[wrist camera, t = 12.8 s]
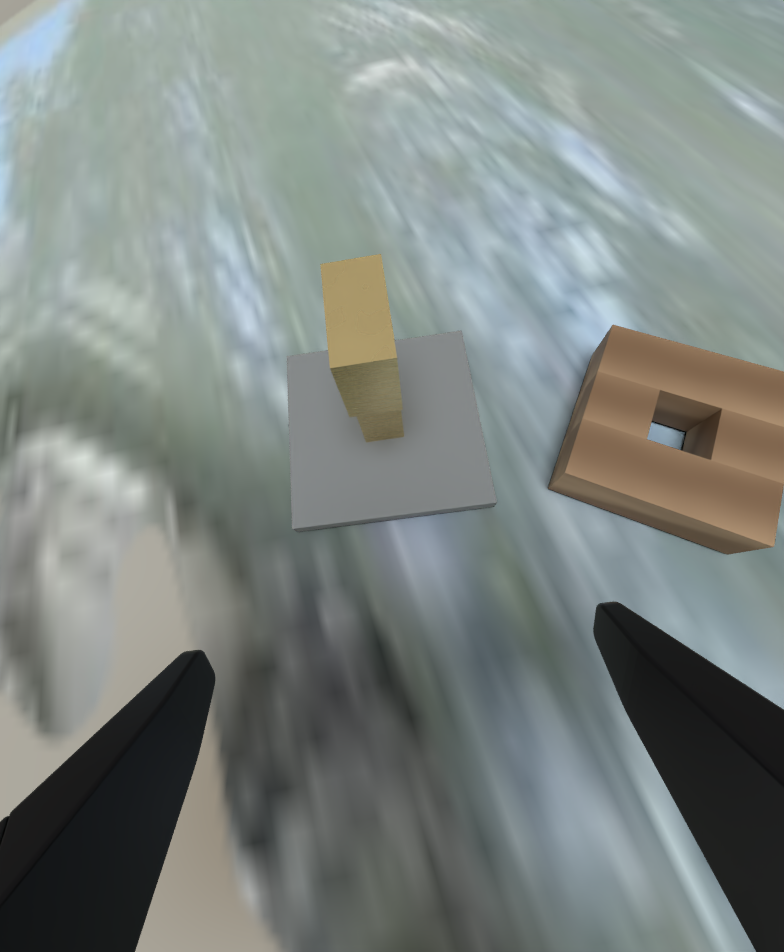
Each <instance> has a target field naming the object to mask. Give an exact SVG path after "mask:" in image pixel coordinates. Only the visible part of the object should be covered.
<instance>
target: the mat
mask: <svg viewBox="0 0 784 952" xmlns="http://www.w3.org/2000/svg"><path fill="white" fill-rule="evenodd" d="M395 347H396V354H397V361H398V370H399V379H400V388H401V397H402V406H403V409H402V410H401V414H402V422H403V430H404V437H399V438H393V439H386V440H379V441H373V442H366V441H365V438H364V435H363V433H362V430H361V427H360V424H359V422H358V419H357V417H349V415H348V412H347V410H346V407H345V405H344V402H343V400H342V397H341V395H340V392H339V390H338V387H337V385H336V382H335V380H334V377H333V375H332V372H331V370H330V365H329V353H328V350H326V351H320V352H313V353H306V354H299V355H292V356H287V381H288V413H289V444H290V476H291V508H292V529H293V530H295V531H297V532H301V531H308V530H316V529H324V528H332V527H339V526H347V525H355V524H363V523H371V522H378V521H386V520H394V519H402V518H409V517H417V516H425V515H433V514H441V513H448V512H456V511H464V510H472V509H479V508H487V507H494V506H495V505H496V503H497V500H496V495H495V491H494V486H493V481H492V476H491V471H490V466H489V461H488V457H487V452H486V447H485V442H484V437H483V432H482V427H481V423H480V418H479V413H478V408H477V403H476V398H475V393H474V389H473V384H472V379H471V374H470V369H469V364H468V359H467V355H466V350H465V345H464V340H463V335H462V331H456V332H449V333H442V334H435V335H429V336H422V337H415V338H408V339H401V340H395Z"/></svg>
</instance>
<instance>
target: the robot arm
mask: <svg viewBox="0 0 784 952" xmlns="http://www.w3.org/2000/svg"><path fill="white" fill-rule="evenodd" d="M593 632H594V637H595V640H596V643H597V645H598V648H599V650H600V652H601V655H602V657H603V659H604V662H605V664H606V666H607V669H608V671H609V674H610V676H611V678H612V681H613V683H614V685H615V688H616V690H617V692H618V695H619V697H620V700H621V702H622V704H623V706H624V708H625V711H626V713H627V715H628V716H629V718H630V720H631V722H632V724H633V726H634V728H635V730H636V731H637V733H638V735H639V737H640V739H641V741H642V743H643V744H644V746H645V748H646V750H647V752H648V754H649V755H650V757H651V759H652V761H653V763H654V765H655V766H656V768H657V770H658V772H659V774H660V776H661V777H662V779H663V781H664V783H665V785H666V787H667V789H668V790H669V792H670V794H671V796H672V798H673V800H674V801H675V803H676V805H677V807H678V809H679V811H680V812H681V814H682V816H683V818H684V820H685V822H686V823H687V825H688V827H689V829H690V831H691V833H692V835H693V836H694V838H695V840H696V842H697V844H698V846H699V847H700V849H701V851H702V853H703V855H704V857H705V858H706V860H707V862H708V864H709V866H710V868H711V869H712V871H713V873H714V875H715V877H716V879H717V880H718V882H719V884H720V886H721V888H722V890H723V892H724V893H725V895H726V897H727V899H728V901H729V903H730V904H731V906H732V908H733V910H734V912H735V914H736V915H737V917H738V919H739V921H740V923H741V925H742V926H743V928H744V930H745V932H746V934H747V936H748V938H749V939H750V941H751V943H752V945H753V947H754V949H755V950H756V952H784V709H782V708H781V707H779V706H777V705H776V704H774V703H773V702H771V701H770V700H768V699H767V698H765V697H764V696H762V695H761V694H759V693H757V692H756V691H754V690H753V689H751V688H750V687H748V686H747V685H745V684H744V683H742V682H741V681H739V680H737V679H736V678H734V677H733V676H731V675H730V674H728V673H727V672H725V671H724V670H722V669H721V668H719V667H717V666H716V665H714V664H713V663H711V662H710V661H708V660H707V659H705V658H704V657H702V656H701V655H699V654H698V653H696V652H694V651H693V650H691V649H690V648H688V647H687V646H685V645H684V644H682V643H681V642H679V641H678V640H676V639H674V638H673V637H671V636H670V635H668V634H667V633H665V632H664V631H662V630H661V629H659V628H658V627H656V626H654V625H653V624H651V623H650V622H648V621H647V620H645V619H644V618H642V617H641V616H639V615H638V614H636V613H634V612H633V611H631V610H630V609H628V608H627V607H625V606H624V605H622V604H620V603H618V602H606V603H600V604H598V605H597V607H596V613H595V620H594V628H593ZM214 685H215V673H214V670H213V668H212V666H211V665H210V663H209V661H208V659H207V657H206V655H205V653H204V652H203V651H202V650H193V651H186V652H183V653H182V654H180V655H179V656H178V657H177V658H176V659H175V660H174V661H173V662H172V663H171V664H170V665H168V666H167V667H166V668H165V669H164V670H163V671H162V672H161V673H160V674H159V675H158V676H157V677H156V678H155V679H153V680H152V681H151V682H150V683H149V684H148V685H147V686H146V687H145V688H144V689H143V690H142V691H140V692H139V693H138V694H137V695H136V696H135V697H134V698H133V699H132V700H131V701H130V702H129V703H128V704H127V705H125V706H124V707H123V708H122V709H121V710H120V711H119V712H118V713H117V714H116V715H115V716H114V717H113V718H111V719H110V720H109V721H108V722H107V723H106V724H105V725H104V726H103V727H102V728H101V729H100V730H99V731H97V732H96V733H95V734H94V735H93V736H92V737H91V738H90V739H89V740H88V741H87V742H86V743H85V744H84V745H82V746H81V747H80V748H79V749H78V750H77V751H76V752H75V753H74V754H73V755H72V756H71V757H69V758H68V759H67V760H66V761H65V762H64V763H63V764H62V765H61V766H60V767H59V768H58V769H57V770H56V771H54V772H53V774H51V775H50V776H49V777H48V778H47V779H46V780H45V781H44V782H43V783H42V784H40V785H39V786H38V787H37V788H36V789H35V790H34V791H33V792H32V793H31V794H30V795H29V796H28V797H26V799H24V800H23V801H22V802H21V803H20V804H19V805H18V806H17V807H16V808H15V809H14V810H13V811H12V812H11V813H10V816H7V817H5V818H4V819H3V820H2V821H1V822H0V952H135V950H136V947H137V944H138V940H139V937H140V934H141V931H142V928H143V925H144V922H145V919H146V916H147V913H148V909H149V906H150V904H151V900H152V897H153V894H154V891H155V888H156V885H157V882H158V879H159V876H160V873H161V870H162V867H163V864H164V860H165V857H166V854H167V851H168V848H169V845H170V842H171V839H172V835H173V833H174V829H175V827H176V823H177V820H178V817H179V814H180V811H181V808H182V805H183V802H184V799H185V796H186V793H187V790H188V787H189V783H190V780H191V777H192V774H193V771H194V768H195V765H196V761H197V758H198V755H199V751H200V747H201V743H202V738H203V734H204V730H205V725H206V721H207V716H208V712H209V708H210V703H211V699H212V694H213V690H214Z"/></svg>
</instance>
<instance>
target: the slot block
mask: <svg viewBox="0 0 784 952" xmlns="http://www.w3.org/2000/svg"><path fill="white" fill-rule="evenodd" d="M652 421H654V422H657V423H660V424H664V425H667V426H670V427H673V428H676V429H680V430H683V431H686V432H687V433H686V437H685V441H684V445H683V450H682V451H681V450H678V449H675V448H672V447H669V446H666V445H663V444H660V443H657V442H653V441H650V440H647V437H648V433H649V429H650V425H651V422H652ZM783 486H784V372H783V371H779V370H776V369H772V368H769V367H765V366H761V365H758V364H754V363H750V362H747V361H743V360H739V359H736V358H732V357H729V356H725V355H721V354H718V353H714V352H710V351H707V350H703V349H699V348H696V347H692V346H689V345H685V344H681V343H678V342H674V341H670V340H667V339H663V338H660V337H656V336H652V335H649V334H645V333H641V332H638V331H634V330H630V329H627V328H623V327H620V326H616V325H612V327H611V328H610V330H609V331H608V333H607V334H606V335H605V337H604V338H603V340H602V341H601V343H600V344H599V346H598V347H597V349H596V350H595V352H594V353H593V355H592V357H591V360H590V363H589V366H588V369H587V372H586V375H585V378H584V381H583V384H582V387H581V390H580V393H579V396H578V399H577V402H576V405H575V408H574V412H573V415H572V418H571V421H570V424H569V427H568V430H567V433H566V436H565V439H564V442H563V445H562V448H561V451H560V454H559V457H558V460H557V463H556V466H555V469H554V472H553V475H552V478H551V481H550V484H549V487H548V489H550V490H553V491H556V492H558V493H561V494H564V495H567V496H569V497H572V498H575V499H578V500H580V501H583V502H586V503H589V504H591V505H594V506H597V507H599V508H602V509H605V510H608V511H610V512H613V513H616V514H619V515H621V516H624V517H627V518H629V519H632V520H635V521H638V522H640V523H643V524H646V525H649V526H651V527H654V528H657V529H660V530H662V531H665V532H668V533H670V534H673V535H676V536H679V537H681V538H684V539H687V540H690V541H692V542H695V543H698V544H701V545H703V546H706V547H709V548H711V549H714V550H717V551H720V552H722V553H725V554H733V553H740V552H746V551H752V550H758V549H764V548H770V547H774V543H775V537H776V530H777V524H778V518H779V511H780V505H781V499H782V493H783Z"/></svg>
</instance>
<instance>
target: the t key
mask: <svg viewBox="0 0 784 952" xmlns="http://www.w3.org/2000/svg"><path fill="white" fill-rule="evenodd" d="M321 275H322V286H323V298H324V309H325V320H326V331H327V342H328V353H329V365H330V370H331V372H332V375H333V377H334V380H335V382H336V385H337V387H338V390H339V392H340V395H341V397H342V400H343V402H344V405H345V407H346V410H347V412H348V415H349V417H357V419H358V422H359V424H360V427H361V430H362V433H363V435H364V438H365V441H366V442H373V441H379V440H386V439H393V438H399V437H404V430H403V422H402V414H401V410H402V409H403V406H402V397H401V388H400V379H399V370H398V361H397V354H396V347H395V341H394V335H393V328H392V322H391V315H390V309H389V302H388V296H387V290H386V283H385V277H384V270H383V264H382V258H381V254H378V255H372V256H366V257H360V258H354V259H348V260H342V261H336V262H330V263H324V264H321Z"/></svg>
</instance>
